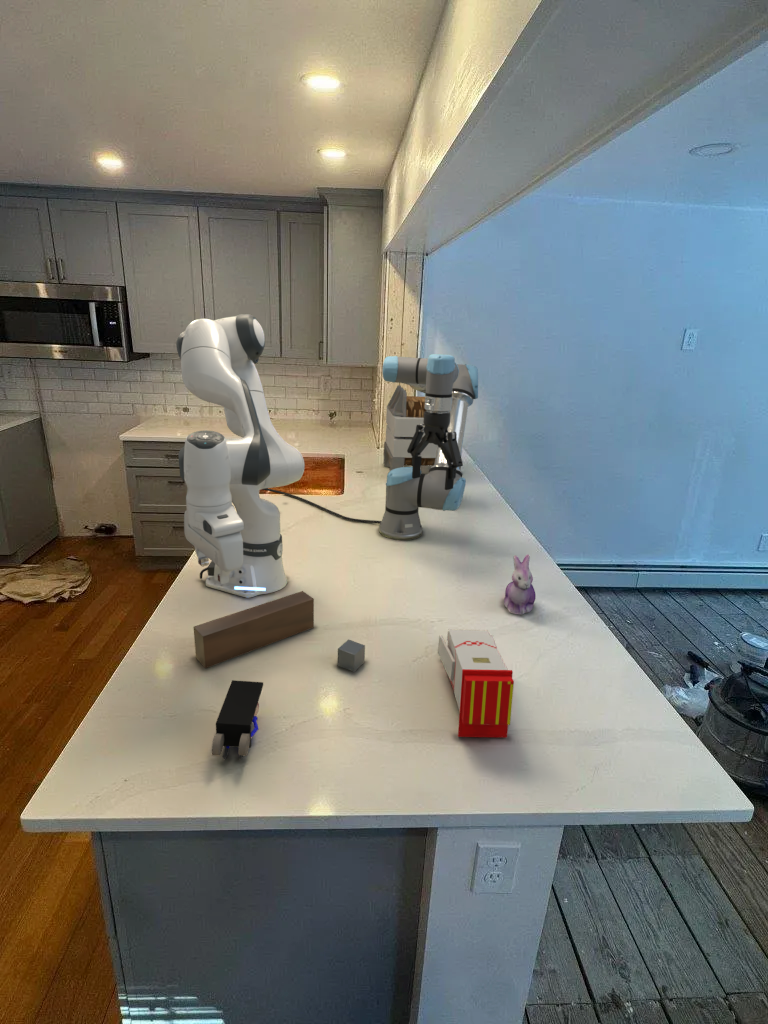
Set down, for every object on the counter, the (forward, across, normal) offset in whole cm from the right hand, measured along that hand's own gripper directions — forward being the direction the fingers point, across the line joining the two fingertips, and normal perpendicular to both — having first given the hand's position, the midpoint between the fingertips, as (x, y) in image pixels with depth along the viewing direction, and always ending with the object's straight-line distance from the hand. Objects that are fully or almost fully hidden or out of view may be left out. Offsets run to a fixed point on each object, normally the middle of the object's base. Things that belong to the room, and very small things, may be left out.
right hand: (432, 483), depth 167 cm
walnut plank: (+27, +7, -62) cm, 68 cm away
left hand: (+6, +7, -72) cm, 72 cm away
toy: (+27, +50, -36) cm, 67 cm away
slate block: (+27, +27, -50) cm, 63 cm away
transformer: (+27, -77, +72) cm, 108 cm away
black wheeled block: (+27, +33, -80) cm, 91 cm away
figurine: (+27, +34, +2) cm, 43 cm away
